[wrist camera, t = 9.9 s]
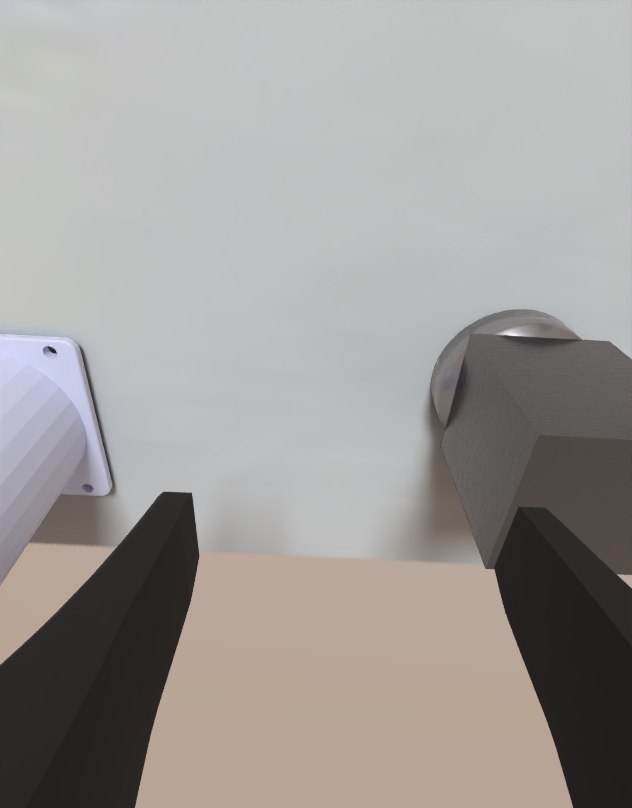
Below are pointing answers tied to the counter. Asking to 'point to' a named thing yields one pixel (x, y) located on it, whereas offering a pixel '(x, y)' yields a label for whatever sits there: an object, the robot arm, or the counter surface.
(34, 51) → the counter surface
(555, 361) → the brushed dark grey cube
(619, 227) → the counter surface
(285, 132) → the counter surface
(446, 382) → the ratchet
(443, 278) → the counter surface
